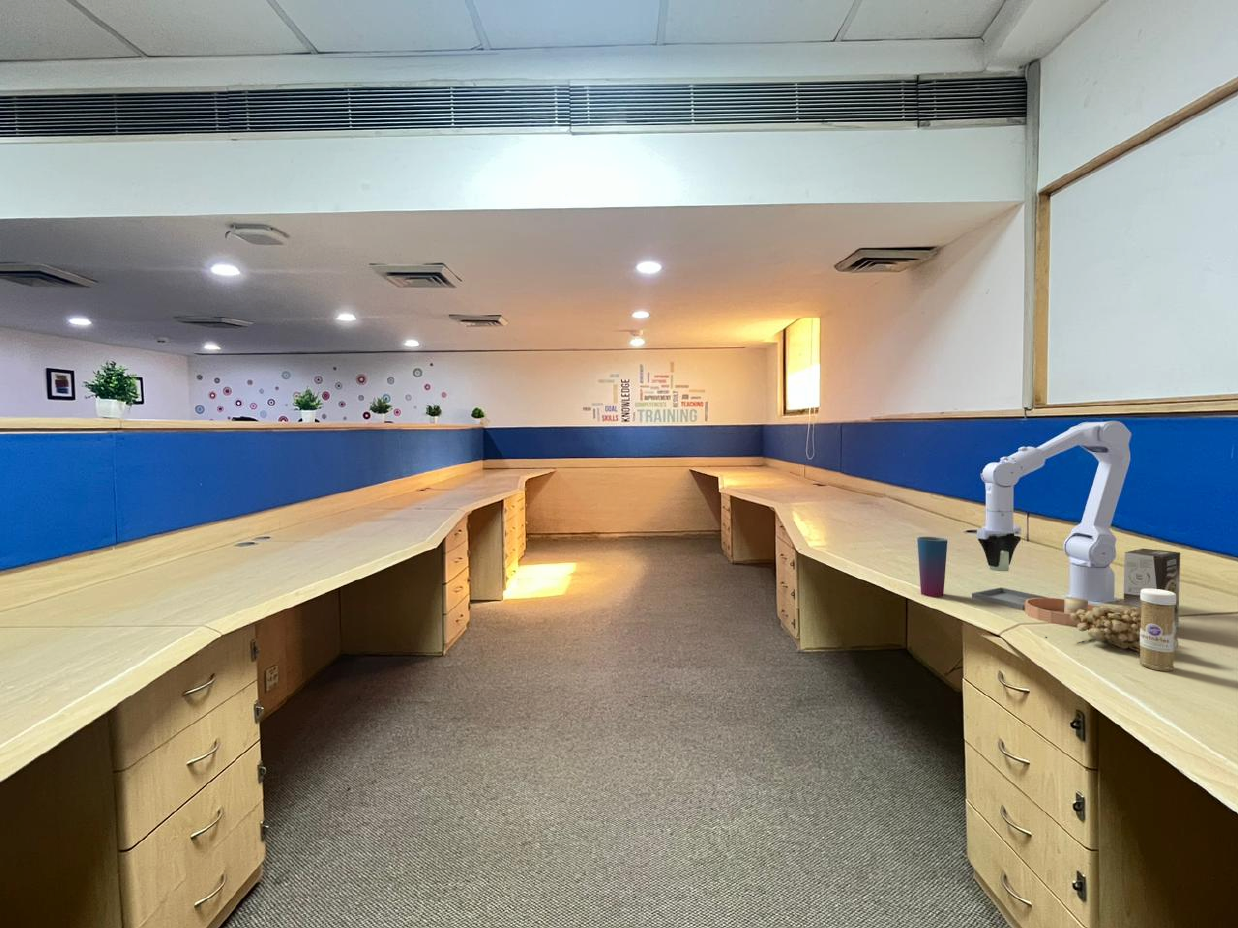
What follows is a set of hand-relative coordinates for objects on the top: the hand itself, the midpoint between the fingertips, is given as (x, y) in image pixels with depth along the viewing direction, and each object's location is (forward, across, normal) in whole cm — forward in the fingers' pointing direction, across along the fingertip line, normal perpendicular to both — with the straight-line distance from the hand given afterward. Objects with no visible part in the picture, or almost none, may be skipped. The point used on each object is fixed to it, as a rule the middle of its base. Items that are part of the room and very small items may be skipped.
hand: (999, 565), depth 142 cm
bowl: (+9, +4, +16) cm, 18 cm away
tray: (+9, 0, +3) cm, 9 cm away
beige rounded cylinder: (+8, +4, +18) cm, 21 cm away
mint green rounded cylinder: (+1, 0, 0) cm, 1 cm away
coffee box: (+9, -6, +27) cm, 30 cm away
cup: (+9, +12, -10) cm, 17 cm away
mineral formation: (+9, +11, +29) cm, 33 cm away
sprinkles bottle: (+9, +18, +38) cm, 43 cm away
